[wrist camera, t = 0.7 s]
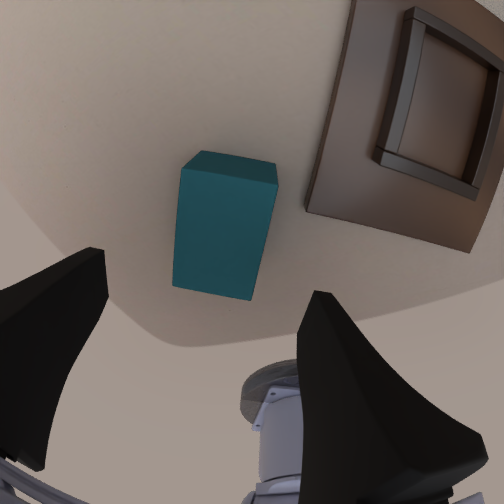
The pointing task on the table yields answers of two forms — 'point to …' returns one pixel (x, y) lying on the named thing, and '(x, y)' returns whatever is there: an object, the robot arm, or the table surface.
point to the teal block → (222, 223)
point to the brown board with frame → (415, 121)
